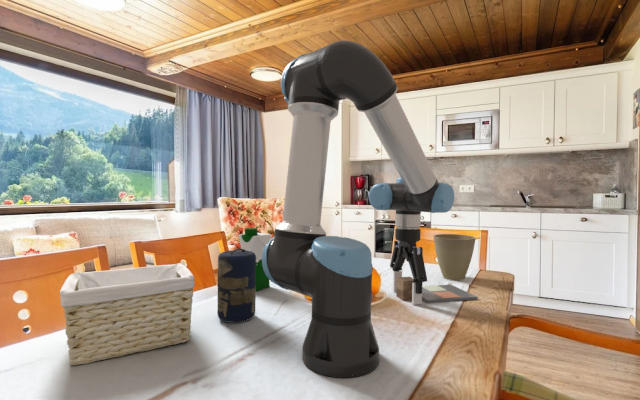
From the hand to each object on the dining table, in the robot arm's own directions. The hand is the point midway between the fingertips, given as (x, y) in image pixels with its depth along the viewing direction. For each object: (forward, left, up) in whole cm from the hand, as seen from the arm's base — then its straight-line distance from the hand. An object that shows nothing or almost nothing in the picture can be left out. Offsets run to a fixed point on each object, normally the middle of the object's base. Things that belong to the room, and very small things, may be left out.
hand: (406, 297), depth 109 cm
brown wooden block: (0, 0, 0) cm, 0 cm away
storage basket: (-73, -17, 0) cm, 75 cm away
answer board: (+12, +1, 0) cm, 12 cm away
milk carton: (-45, +20, 0) cm, 49 cm away
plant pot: (+29, +19, 0) cm, 35 cm away
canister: (-51, -7, 0) cm, 52 cm away
